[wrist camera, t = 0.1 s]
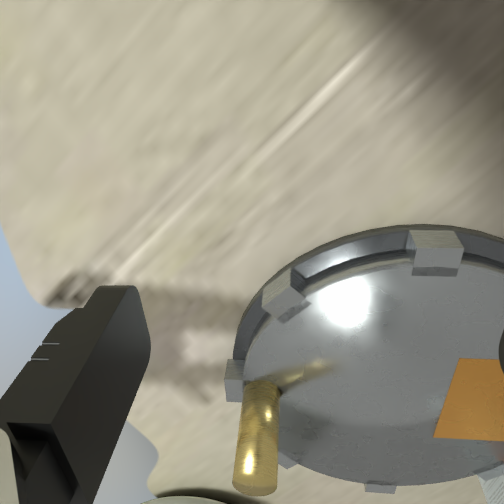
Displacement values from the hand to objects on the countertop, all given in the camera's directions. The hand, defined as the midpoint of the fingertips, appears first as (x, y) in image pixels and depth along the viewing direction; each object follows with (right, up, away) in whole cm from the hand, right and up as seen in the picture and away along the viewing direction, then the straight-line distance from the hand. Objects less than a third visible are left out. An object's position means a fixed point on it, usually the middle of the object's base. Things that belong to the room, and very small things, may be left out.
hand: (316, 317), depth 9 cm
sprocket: (+10, -8, +24) cm, 27 cm away
